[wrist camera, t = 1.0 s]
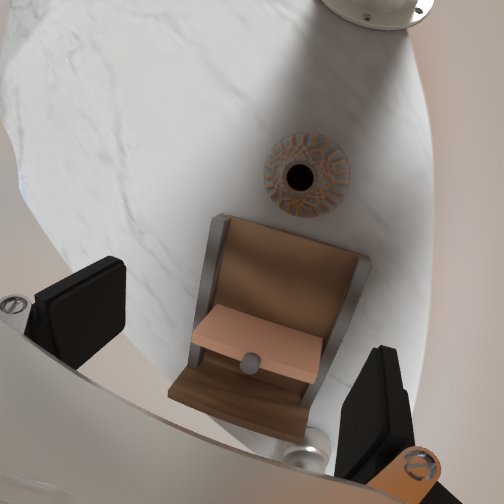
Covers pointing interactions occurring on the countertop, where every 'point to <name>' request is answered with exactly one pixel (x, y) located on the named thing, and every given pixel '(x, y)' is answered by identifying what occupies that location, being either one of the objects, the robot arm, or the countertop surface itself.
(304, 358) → the pusher plate
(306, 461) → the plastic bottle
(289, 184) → the vase
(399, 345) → the countertop surface
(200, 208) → the countertop surface
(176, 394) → the pusher lane
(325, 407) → the countertop surface
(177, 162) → the countertop surface
